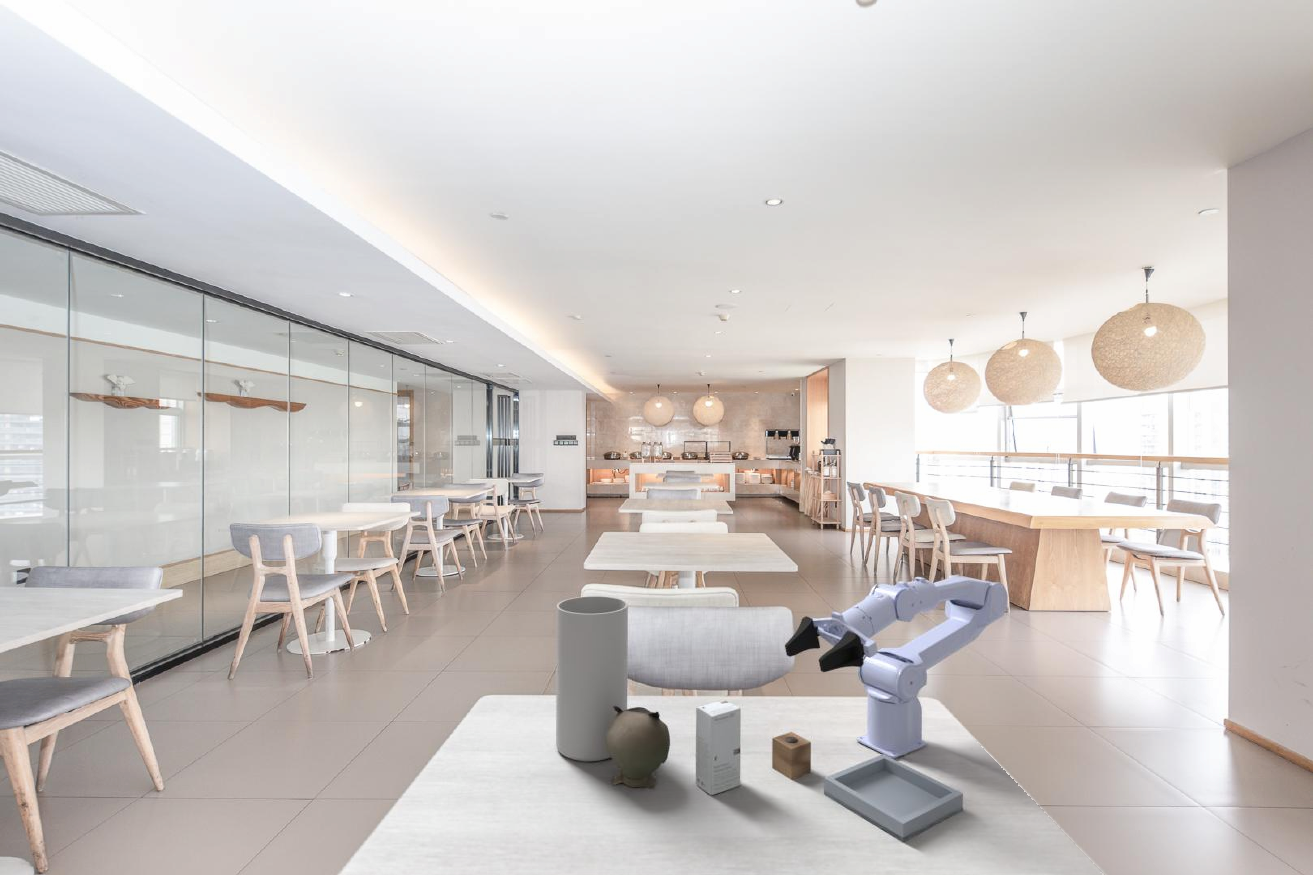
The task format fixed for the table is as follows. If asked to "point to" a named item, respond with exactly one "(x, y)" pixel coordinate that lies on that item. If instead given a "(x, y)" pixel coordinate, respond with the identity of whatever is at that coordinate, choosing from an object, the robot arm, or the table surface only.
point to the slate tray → (893, 796)
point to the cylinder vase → (590, 673)
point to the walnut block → (791, 755)
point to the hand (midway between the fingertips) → (803, 658)
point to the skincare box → (718, 747)
